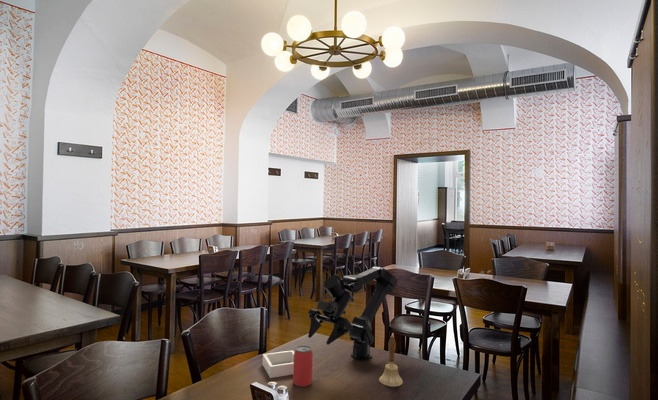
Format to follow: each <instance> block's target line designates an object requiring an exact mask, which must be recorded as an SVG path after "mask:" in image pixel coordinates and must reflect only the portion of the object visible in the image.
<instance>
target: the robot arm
mask: <svg viewBox="0 0 658 400" xmlns="http://www.w3.org/2000/svg"><path fill="white" fill-rule="evenodd" d="M373 281H375V290H374V292H373V294H372V295H371V297H370V299H369V301H368V302H367V305H365V308H364V310H363V312H362V314H361V315H360V316H359V317H358V316H355V317H353V319H352V320H351V321H350V320H349V319H348V318H347V317H346V318H345V317H344V316H343V317H342V315H346V309H347V306H348V305H349V303H350V302H351V303H354V302H355V300H354V299H355V298H354V294H355V293H358V292H360V291H361V290H362V289H363V287H364V286H365V285H367V284H368V283H370V282H373ZM397 285H398V280H397V277H396V276H395V275H393V274H392V273H391V272H389V271H388V270H386V269H385V268H384V267H381V266H372V268H369V269H367V270H365V271H363V272H360V273H358V274H350V275H344V276H343V277H342V278H340V276H339V274H336V273H333V275H331V276H329V277H328V278H327V279H325V280H324V282H323V287H324V288H325V290H326V291H327V293H328V294H329V295H330V296H331V298H333V299H332V300H330V301H324V300H320V299H318V302H317V306H316V307H315V308H316V309H315V308H310V309H309V310H308V312H307V315H308V318H309V319H310V327H309V329H308V330H309V331H308V335H307V337H308V338H309V339H311V338H312V337H313V336H314V335H315V334H316V332H317V331H318V330H319V329H320V328H321V326H322V324H323V322H327V323H329V324H332V325H333V328H332V331H331V333H330V335H329V336H328V337H327V340H326V345H327V346H329V345H330V344H332V343H333V342H335V341H336V340H338V339H339V338H341V337H343V336H344V335H347V334H348V335H349V339H350V341H353V345H352V353H351V354H350V356H351V357H353V358H355V359H357V360H359V361H364V360H367V359H372V358H373V355H372V354H370V353H371V349H370V348H371V345H373V343H374V342H375V336H374V335H373V334H372V323H373V320H374V318H375V316H376V315H377V312H378V311H379V309H380V307H381V306H382V303H383V302H384V299H385V298H386V296H387V295H389V294H391V293H392V292H393V291H394V289H395V288H396V287H397ZM352 293H354V294H352ZM319 310H321V312H320V311H319Z"/></svg>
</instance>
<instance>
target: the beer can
mask: <svg viewBox="0 0 658 400" xmlns="http://www.w3.org/2000/svg"><path fill="white" fill-rule="evenodd" d="M313 357H314V354H313V350H312V347H311V346H308V345H298V346H296V347H295V350H294V366H293V375H292V377H293V378H292V383H293V384H294V385H295V386H296V387H300V388H301V387H302V388H305V387H309V386H310V385H312V383H313V363H314V359H313Z"/></svg>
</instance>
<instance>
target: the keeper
mask: <svg viewBox="0 0 658 400" xmlns="http://www.w3.org/2000/svg"><path fill="white" fill-rule="evenodd" d="M294 352H295V350H286V351H285V350H284V351H278V352H277V351H276V352H269V353H268V352H267V353H263V354H262V366H263V368H264V370H265V372H266V373H267V375H268V377H269V379H272V378H279V377H285V376H293V366H294Z"/></svg>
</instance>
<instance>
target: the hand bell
mask: <svg viewBox="0 0 658 400" xmlns="http://www.w3.org/2000/svg"><path fill="white" fill-rule="evenodd" d="M396 347H397V343H396V340H395V336H394V335H390V337H389V340H388V347H387V348H388V353H389V358H388V363H386V364H385V366H384V371H383V373H382V375H381V376H380V377H379V378H378V381H379V383H381V384H382V385H384V386H387V387H392V388H393V387H394V388H395V387H400V386H402V385H403V384H404V381H403V379H402V377H401V376H400V374H399V367H398V366H397V364H395V351H396Z"/></svg>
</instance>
